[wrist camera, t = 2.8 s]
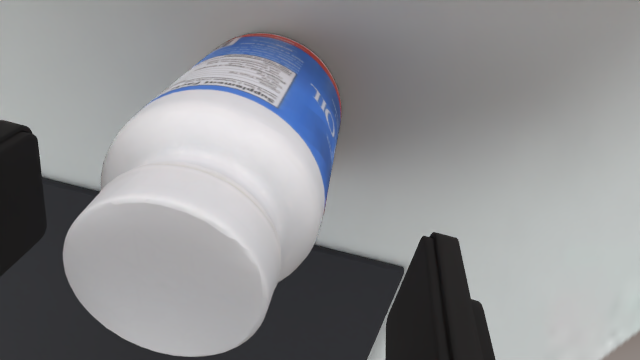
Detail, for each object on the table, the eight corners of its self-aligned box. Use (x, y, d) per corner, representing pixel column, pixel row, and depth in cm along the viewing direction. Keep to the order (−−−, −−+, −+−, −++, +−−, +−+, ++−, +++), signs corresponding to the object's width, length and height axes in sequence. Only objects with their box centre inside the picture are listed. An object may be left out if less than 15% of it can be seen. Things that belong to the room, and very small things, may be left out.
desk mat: (-19, 389, 29) (-24, 395, 29) (-90, 144, 20) (-98, 148, 20) (317, 470, 30) (316, 477, 29) (403, 267, 20) (404, 273, 20)
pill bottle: (335, 175, 18) (296, 402, 10) (203, 159, 19) (58, 365, 10) (351, 35, 15) (315, 189, 7) (194, 18, 16) (-15, 146, 7)
